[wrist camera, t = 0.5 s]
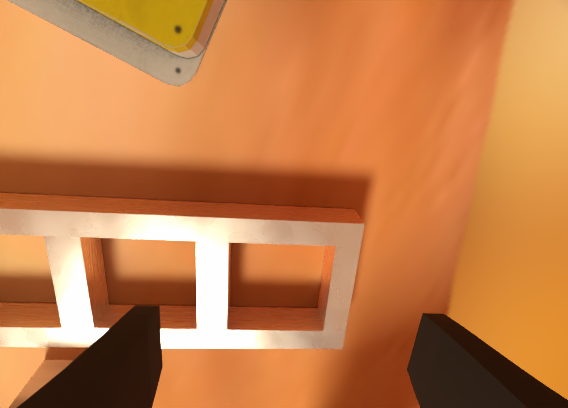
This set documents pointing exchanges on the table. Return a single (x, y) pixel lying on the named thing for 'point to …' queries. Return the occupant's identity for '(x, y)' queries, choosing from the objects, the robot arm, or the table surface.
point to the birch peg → (40, 379)
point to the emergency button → (139, 30)
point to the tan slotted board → (209, 270)
